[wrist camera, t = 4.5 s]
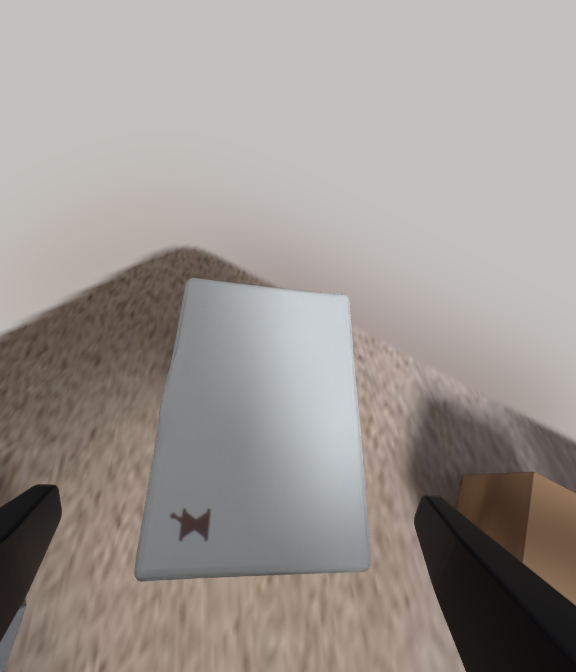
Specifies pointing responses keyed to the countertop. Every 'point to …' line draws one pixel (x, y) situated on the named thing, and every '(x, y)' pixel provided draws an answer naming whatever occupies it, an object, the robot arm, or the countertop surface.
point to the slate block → (10, 638)
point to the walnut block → (527, 522)
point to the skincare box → (257, 440)
